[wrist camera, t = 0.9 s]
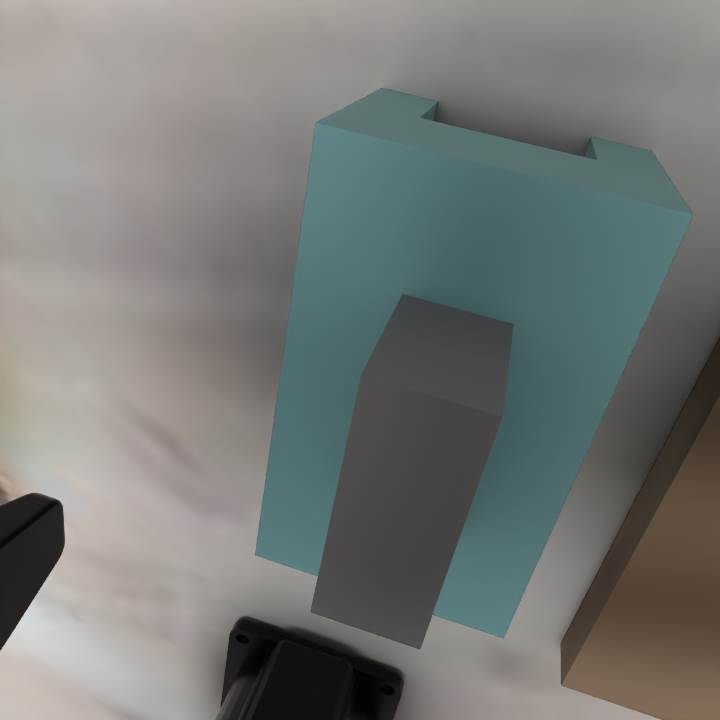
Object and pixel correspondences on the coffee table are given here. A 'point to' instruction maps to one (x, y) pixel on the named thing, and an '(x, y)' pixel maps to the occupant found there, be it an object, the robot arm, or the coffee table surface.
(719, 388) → the cleat board
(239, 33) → the coffee table surface
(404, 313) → the grooved box
